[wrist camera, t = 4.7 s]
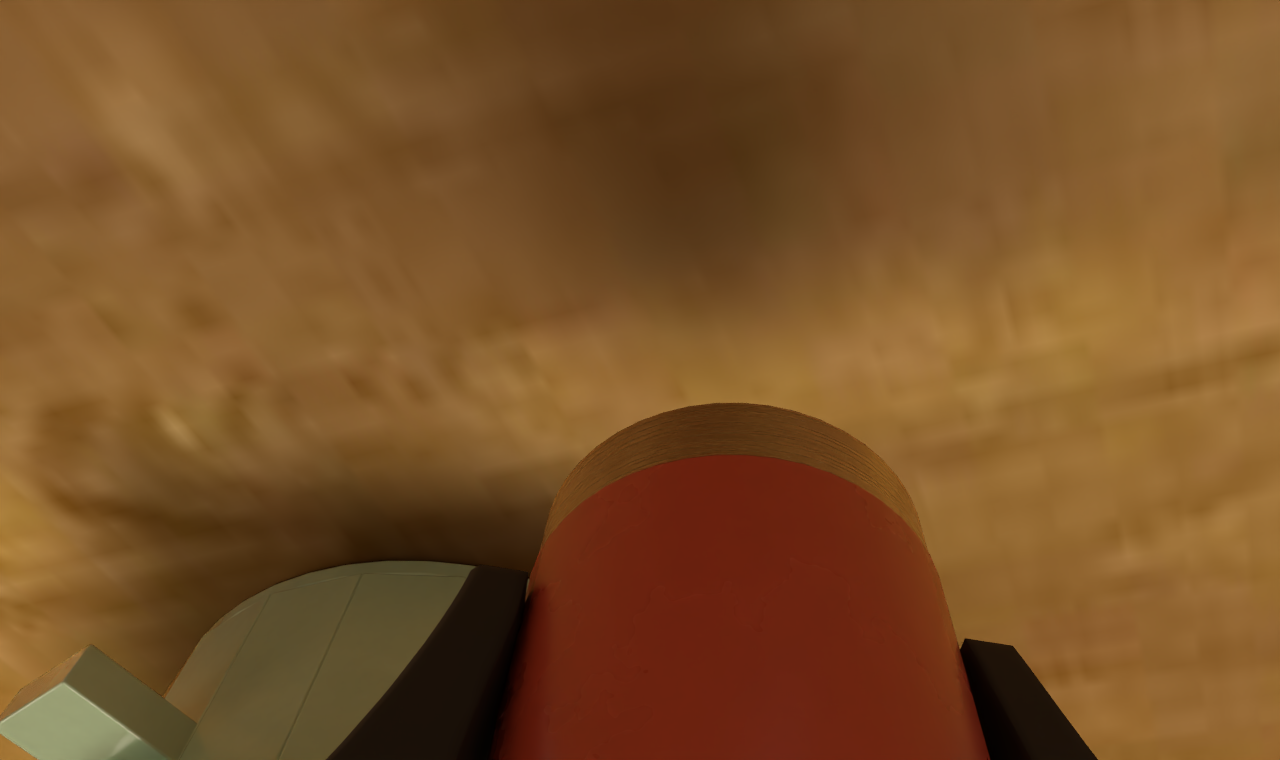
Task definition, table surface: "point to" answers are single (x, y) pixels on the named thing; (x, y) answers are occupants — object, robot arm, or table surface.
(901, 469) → the table surface
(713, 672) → the tin
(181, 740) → the pot
